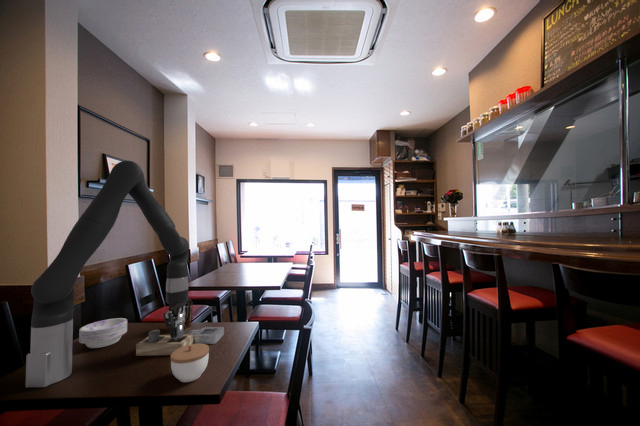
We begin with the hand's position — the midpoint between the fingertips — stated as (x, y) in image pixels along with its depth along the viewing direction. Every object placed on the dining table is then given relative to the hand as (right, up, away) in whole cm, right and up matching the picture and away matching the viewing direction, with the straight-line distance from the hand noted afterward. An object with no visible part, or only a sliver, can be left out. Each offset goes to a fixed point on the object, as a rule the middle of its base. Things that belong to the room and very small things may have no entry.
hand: (177, 334), depth 99 cm
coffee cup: (-9, -7, +21) cm, 24 cm away
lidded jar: (+14, -5, -19) cm, 24 cm away
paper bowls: (-34, -7, +7) cm, 36 cm away
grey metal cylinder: (0, -4, 0) cm, 4 cm away
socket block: (+8, -6, +9) cm, 13 cm away
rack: (-4, -6, 0) cm, 7 cm away
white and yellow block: (0, -6, +9) cm, 11 cm away
